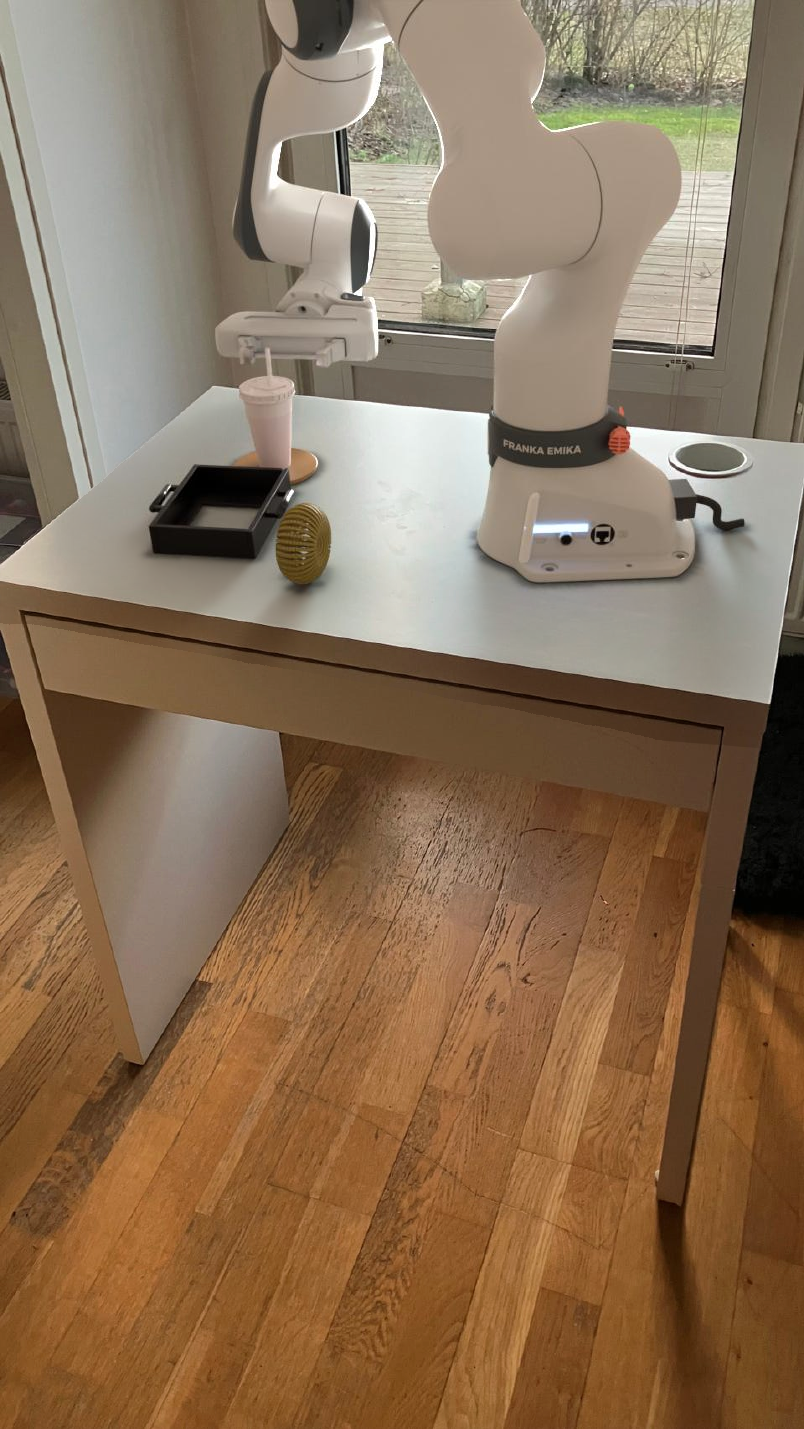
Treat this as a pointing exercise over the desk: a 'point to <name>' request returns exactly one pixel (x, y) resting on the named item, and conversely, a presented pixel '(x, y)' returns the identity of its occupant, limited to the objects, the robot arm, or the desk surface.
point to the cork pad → (299, 467)
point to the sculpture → (303, 543)
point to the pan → (223, 490)
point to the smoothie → (269, 416)
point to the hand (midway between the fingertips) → (283, 359)
